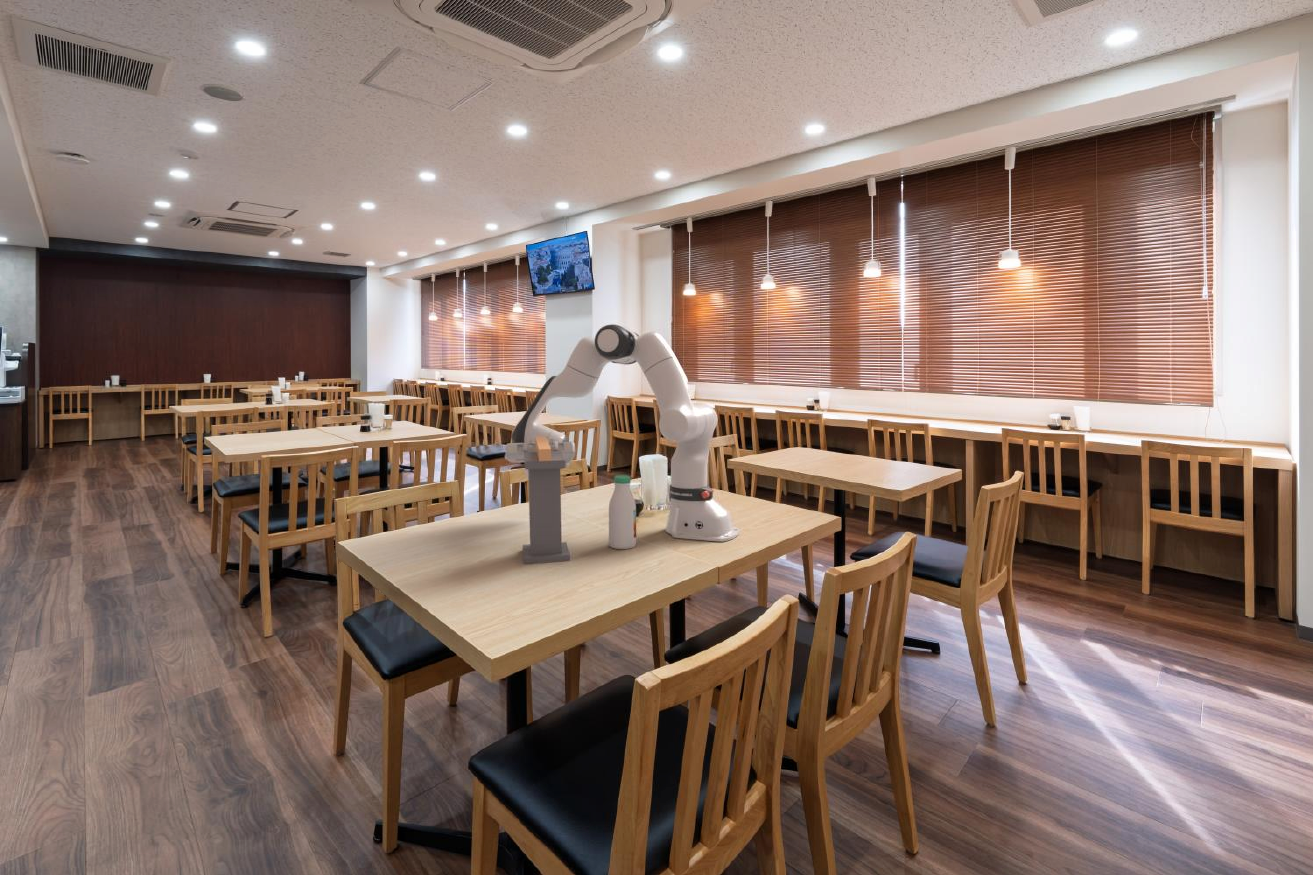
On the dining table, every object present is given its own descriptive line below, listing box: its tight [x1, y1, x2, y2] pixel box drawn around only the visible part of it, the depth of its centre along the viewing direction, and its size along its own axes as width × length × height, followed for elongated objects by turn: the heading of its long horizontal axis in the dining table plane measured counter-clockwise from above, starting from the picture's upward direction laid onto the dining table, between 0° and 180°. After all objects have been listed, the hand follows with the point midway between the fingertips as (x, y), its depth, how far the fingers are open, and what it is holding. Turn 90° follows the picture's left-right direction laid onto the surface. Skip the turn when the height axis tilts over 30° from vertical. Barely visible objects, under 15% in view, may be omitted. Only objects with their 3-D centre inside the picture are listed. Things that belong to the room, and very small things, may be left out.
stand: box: [522, 451, 571, 564], centre depth 170 cm, size 16×12×27 cm
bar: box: [535, 436, 551, 461], centre depth 173 cm, size 26×3×3 cm, turn 13°
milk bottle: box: [608, 474, 637, 550], centre depth 179 cm, size 8×8×20 cm
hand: (541, 441), depth 182 cm, fingers open, 5 cm apart
